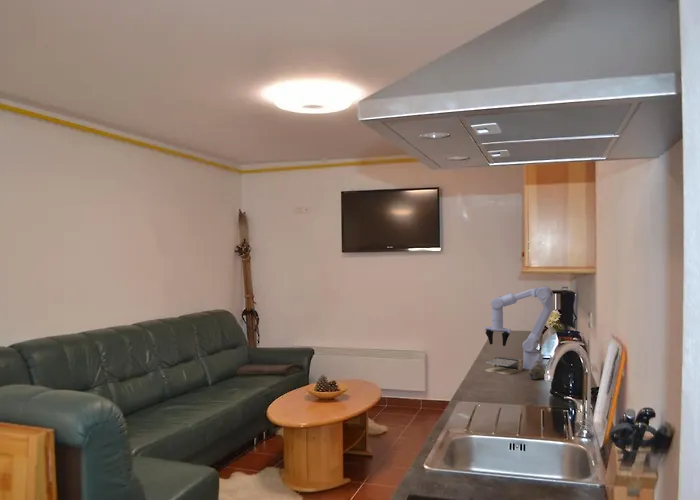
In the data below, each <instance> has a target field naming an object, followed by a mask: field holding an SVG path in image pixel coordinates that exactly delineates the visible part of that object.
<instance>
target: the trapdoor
mask: <svg viewBox="0 0 700 500" xmlns="http://www.w3.org/2000/svg"><path fill="white" fill-rule="evenodd" d="M518 360H522V361H523V358H521V357H520V358H518V357H511V356H510V357H509V356H505V355H504V356H503V355H501V356H499V357H496V358H495V359H492V358H491V359H490V360H488V361H485V364H490V365H492V364H496V366H498V367H504V368H511V369H518Z"/></svg>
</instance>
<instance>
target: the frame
mask: <svg viewBox="0 0 700 500" xmlns="http://www.w3.org/2000/svg"><path fill="white" fill-rule="evenodd" d="M495 358H497V356H495V355H492V356H491V360H492V359H495ZM523 369H524V368H523V359H522V360H518V368H511V367H504V366H498V365H496V364H491V367H490V368H486V369H485V370H484V369H483V370H484V372H489V373H496V374H503V375H510V376H511V375H513V374H514V375H515V374H516V373H518V372H523Z"/></svg>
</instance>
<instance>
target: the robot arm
mask: <svg viewBox="0 0 700 500" xmlns="http://www.w3.org/2000/svg"><path fill="white" fill-rule="evenodd" d="M530 297H533V298H537V299H539V301H540V302H541V304H542V309H541V312H540V313H539V315H538V317H537V320H536V321H535V324H534V326H533V327H532V329H531V332H530V334H529V335H528V336H527V338H526V339H525V340H524V341H523V342H522V345H521V346H522V349H523V350H522V352H523V353H522V355H523V356H522V365H523V369H525V370H526V369H527V370H530V369H531V368H532V367H533V365H534V363H535V362H536V360H537V361H539V362H540V364H541V365H542V367H543V368H544V361H543V360H544V356H543V353H542V352H539V351H538V349H537V348H538V347H539V340H540V337H541V334H542V333H543V331H544V329H545V326H546V324H547V322H548V321H549V319H550V318H551V317H550V316H551V315H552V313H553V310H554V308H555V300H554V293H553V291H552V289H551V288H550V287H549V286H547V285H546V286H542V287H541V286H540V287H533V288H530V289H528V290H525V291H522V292H519V293H516V294H514V293H513V292H511V293H510V292H507V293H506V294H505V295H500V296H498V297H494V298H493V299H492V300H491V301H490V306H491V308H492V309H491V326H484V331H485V334H486V336H487V339H488V343H489V345H493V344H494V340H493V339H494V332H495V333H496V332H498V333H501V337H502V346H503V347H505V346H507V345H506V344H507V341H508V339H509V336H510V334H511V333H512V329H511V328H506V327H504V309H503V307H504V308H505V307H508V306H511V305H515V304H516V303H517V302H518V300H522V299H526V298H530Z"/></svg>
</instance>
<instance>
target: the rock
mask: <svg viewBox="0 0 700 500" xmlns="http://www.w3.org/2000/svg"><path fill="white" fill-rule="evenodd" d="M528 370H529V371H528V376H529V377H530V379H531V380H539V379H545V378H544V374H545V371H546V369H544V366H543V367H542V365H541V364H540V362H539V361H537V360H536V362H535V363H534V365H533V367H532V368H531V369H528Z"/></svg>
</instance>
